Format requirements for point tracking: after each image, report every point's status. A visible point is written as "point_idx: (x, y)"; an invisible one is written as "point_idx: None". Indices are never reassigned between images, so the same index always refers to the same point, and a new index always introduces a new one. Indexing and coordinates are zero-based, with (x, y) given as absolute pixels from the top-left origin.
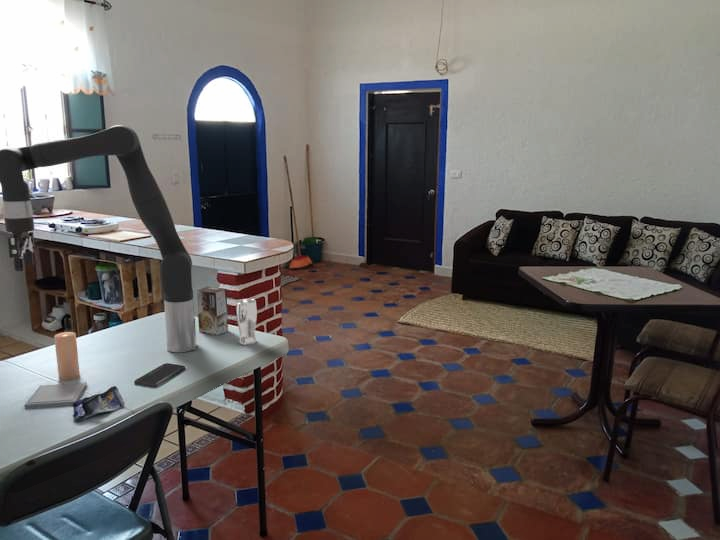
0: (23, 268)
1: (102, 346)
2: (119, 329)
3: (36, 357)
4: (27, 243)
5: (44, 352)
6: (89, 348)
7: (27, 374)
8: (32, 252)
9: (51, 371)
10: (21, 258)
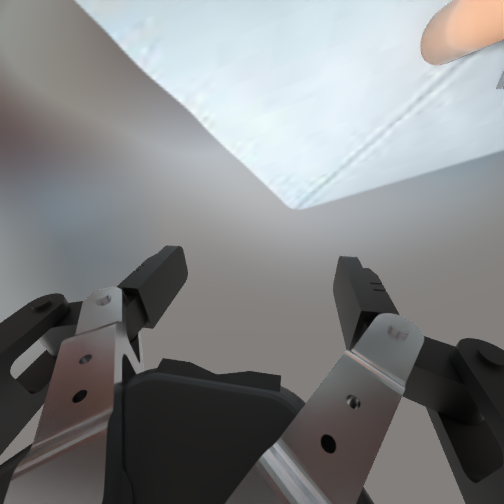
0: (350, 260)
1: (238, 14)
2: (110, 7)
3: (286, 165)
4: (140, 414)
5: (260, 158)
6: (249, 52)
7: (381, 151)
8: (120, 291)
9: (384, 102)
10: (405, 318)
